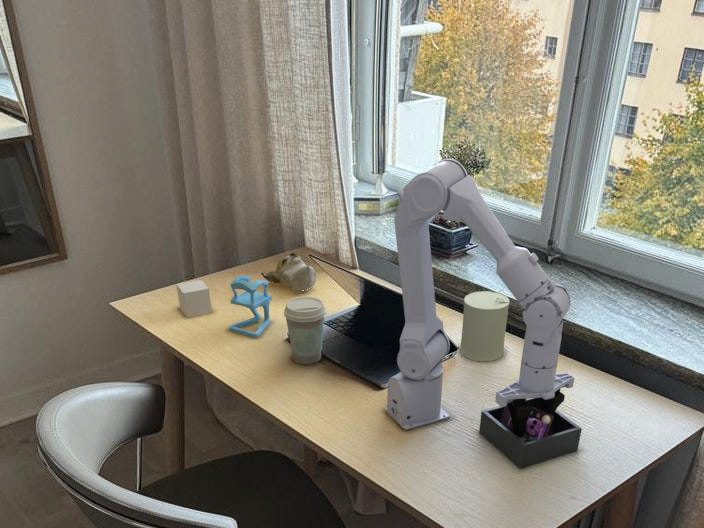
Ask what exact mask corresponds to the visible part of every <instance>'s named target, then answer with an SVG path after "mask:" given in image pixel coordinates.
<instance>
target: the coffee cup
mask: <svg viewBox="0 0 704 528" xmlns="http://www.w3.org/2000/svg"><path fill="white" fill-rule="evenodd" d="M326 315H327V309H326V307H325V305H324V301H322V300H321V299H319V298H317V297H313V296H300V297H299V296H298V297H294V298H292V299H289V300H288V301H287V302H286V303H285V308H284V310H283V316H284V318H285V320H286V325H287V326H286V327H287V332H288V336H289V342H290V347H291V352H292V359H293V360H294V362H296V363H297V364H301V365H312V364H316V363H318V362H319V361H320V360H321V359H322V353H321V350H322V351H323V339H324V330H325V329H324V328H325V317H326Z"/></svg>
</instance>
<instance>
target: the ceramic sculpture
mask: <svg viewBox="0 0 704 528" xmlns="http://www.w3.org/2000/svg"><path fill="white" fill-rule="evenodd" d="M260 274H261V275H262V277H263V279H265V281H269V282H268V283H272V282H273V283H272V284H282V285H284V284H285V285H284V286H287V287H290V288H292V290H293V291H294V292H295V293H298V294H299V293H300V294H302V293H307V292H309V291H310V290H312V288H313V287H314V286H315V285H316V279H317V272H316V271H315V269H314V267H312V265H306V263H305V261H304V260H303V259H302V257H301V256H300V255H297V254H296V253H294V252H292V253H289V255H287V256H283V257H281V258H280V259H279V260H278V262H277V265H276V269H275V270H271V271H268V272H260ZM312 286H313V287H312ZM311 287H312V288H311ZM309 288H310V289H309ZM307 289H308V290H307ZM302 290H304V291H302Z"/></svg>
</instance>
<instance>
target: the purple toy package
mask: <svg viewBox="0 0 704 528" xmlns="http://www.w3.org/2000/svg"><path fill="white" fill-rule="evenodd" d="M532 408H533V407H532ZM535 411H537V412H536V413H535ZM542 414H544V416H543V417H542ZM534 415H535V418H533V419H531V418H528V419H529V420H528V421H527V423H526V429H525V433H526V435H527V436H529V437H537V439H540V438H543V435H544V433H545V430H546V427H547V425H548V427H547V430H546V433H545V436H544V437H546V436H547V435H548V432H549V430H550V427H551V424H552V421H553V418H554V416H552V415H550V414H547V413H545V412H543V411H540V410H538V409H536V408H533V410H532V411H531V413H530V415H529V416H531V417H533V416H534ZM550 417H551V418H550ZM541 418H542V421H540V419H541ZM541 422H543V423H541ZM500 423H501V424H502V425H503V426H505V427H506V428H507V429H508V430H510V431H511V432H512V433H513V434H514V435H515V433H514V432H513V426H512V420H511V416H510V412H509V410H508V407H507V406H505V408H504V411H503V414H502V417H501V421H500Z"/></svg>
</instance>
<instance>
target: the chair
mask: <svg viewBox="0 0 704 528" xmlns="http://www.w3.org/2000/svg"><path fill="white" fill-rule="evenodd" d="M250 281H251V275H248V276H245V275H239V276H236V277H235V278H234V279H232V281H231V282H230V284H229V285H230V288H231V291H232V292H233V298H231V299H230V300H229V301H230V304H231V305H235V306H241V307H245V308H247V309H249V310H250V312H251V313H252V314H253V316H254V317H252V318H249V319H245V320H242V321H240V322H236V323H233V324H231V325H229V326H228V330H229V331H230V332H232V333H236V334H240V335H243V336H246V337H249V338H252V339H253V338H254V339H257V338H259V337H260V336H261V334H262V333H263V331H265V329H266V327H267V326H268V325H269V324H270V323H271V319H270V303H271V301H272V300H273V299H272V295H270V294H268V288H269V283H270V282H269V281H268V280H261V279H257V280H254V281H252V282H250ZM263 286H264V287H263ZM261 287H263V292H262V293H261V292H257V290H258V289H260V288H261ZM237 290H242V291H244V292H242V293H241V294H238V291H237ZM260 307H262V309H263V320H262V316H261V314H260V313H259V311H258V310H257V308H260ZM260 321H262V322H261V323H260V325H259V327H258V328H257V330H256V331H255V332H253V331H250V330H246V329H243V327H246V326H250V325H252V324H255V323H259V322H260Z"/></svg>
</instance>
